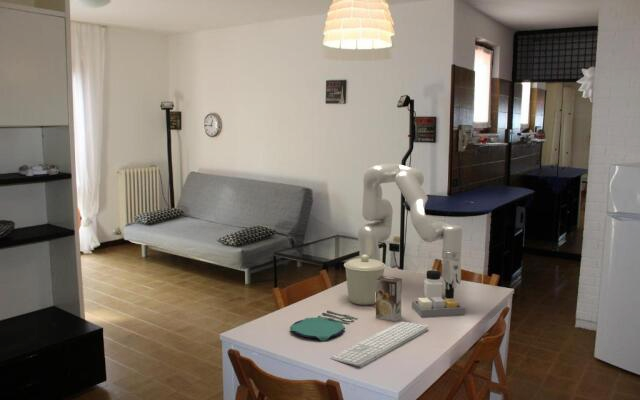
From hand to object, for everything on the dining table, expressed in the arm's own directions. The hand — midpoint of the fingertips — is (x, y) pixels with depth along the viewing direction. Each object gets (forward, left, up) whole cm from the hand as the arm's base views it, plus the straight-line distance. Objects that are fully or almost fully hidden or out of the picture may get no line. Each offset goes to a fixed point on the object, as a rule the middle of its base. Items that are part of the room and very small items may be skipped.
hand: (449, 297), depth 231 cm
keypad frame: (-5, 0, -5) cm, 8 cm away
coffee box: (-27, -4, -6) cm, 28 cm away
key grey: (-5, 0, -3) cm, 6 cm away
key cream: (-11, 0, -3) cm, 11 cm away
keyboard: (-36, -30, -6) cm, 47 cm away
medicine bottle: (0, +19, -6) cm, 19 cm away
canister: (-32, +17, -6) cm, 37 cm away
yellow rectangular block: (0, 0, -4) cm, 4 cm away
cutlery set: (-54, -11, -6) cm, 55 cm away
